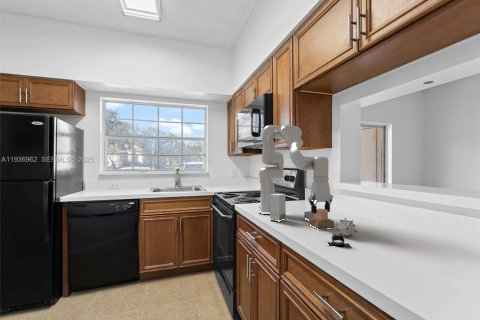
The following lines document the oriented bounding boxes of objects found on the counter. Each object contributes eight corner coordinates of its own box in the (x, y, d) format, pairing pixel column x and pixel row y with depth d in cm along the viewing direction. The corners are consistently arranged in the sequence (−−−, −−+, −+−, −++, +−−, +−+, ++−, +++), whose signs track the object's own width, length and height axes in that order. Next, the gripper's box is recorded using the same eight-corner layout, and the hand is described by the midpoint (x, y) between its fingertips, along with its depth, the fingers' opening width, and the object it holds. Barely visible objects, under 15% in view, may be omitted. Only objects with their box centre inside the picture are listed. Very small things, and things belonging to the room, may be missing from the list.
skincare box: (279, 222, 130) (279, 195, 130) (269, 220, 134) (269, 194, 134) (286, 220, 136) (286, 193, 137) (276, 218, 140) (276, 193, 141)
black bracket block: (352, 244, 95) (352, 233, 95) (357, 250, 88) (357, 238, 88) (320, 242, 98) (320, 231, 98) (323, 248, 91) (323, 236, 91)
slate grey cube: (304, 220, 137) (304, 211, 137) (310, 219, 139) (310, 211, 139) (310, 221, 132) (310, 213, 133) (316, 221, 135) (316, 212, 135)
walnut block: (309, 225, 124) (309, 217, 124) (324, 225, 126) (324, 217, 126) (317, 230, 115) (317, 221, 115) (333, 229, 117) (333, 220, 117)
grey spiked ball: (344, 245, 103) (332, 228, 102) (341, 233, 111) (330, 217, 110) (363, 238, 99) (351, 220, 98) (359, 226, 107) (348, 210, 106)
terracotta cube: (313, 218, 122) (313, 209, 122) (320, 217, 124) (320, 208, 124) (321, 220, 117) (321, 210, 118) (327, 219, 120) (327, 209, 120)
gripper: (326, 179, 129) (326, 209, 128) (303, 179, 121) (303, 212, 120) (338, 180, 122) (338, 212, 121) (313, 180, 114) (313, 215, 114)
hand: (320, 212), depth 121 cm, fingers open, 9 cm apart
